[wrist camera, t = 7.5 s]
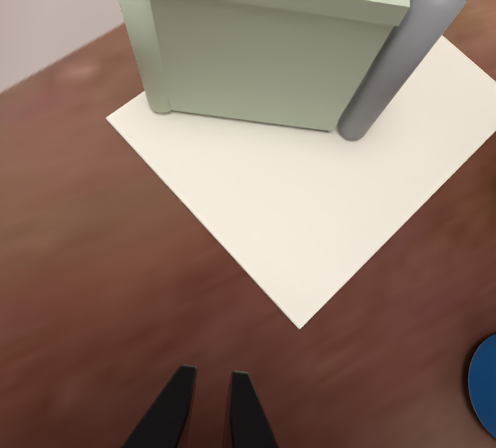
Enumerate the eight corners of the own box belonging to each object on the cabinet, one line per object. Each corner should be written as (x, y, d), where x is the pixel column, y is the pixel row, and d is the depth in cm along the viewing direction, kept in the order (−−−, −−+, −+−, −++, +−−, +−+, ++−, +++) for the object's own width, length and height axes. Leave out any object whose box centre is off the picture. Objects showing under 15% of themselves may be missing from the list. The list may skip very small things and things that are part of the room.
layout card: (518, 106, 28) (522, 103, 27) (298, 329, 22) (299, 329, 22) (344, -45, 30) (345, -50, 30) (107, 120, 25) (105, 117, 24)
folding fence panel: (367, 114, 26) (465, -24, 16) (367, 141, 25) (468, 15, 15) (150, 85, 25) (107, -81, 15) (145, 112, 24) (97, -42, 14)
